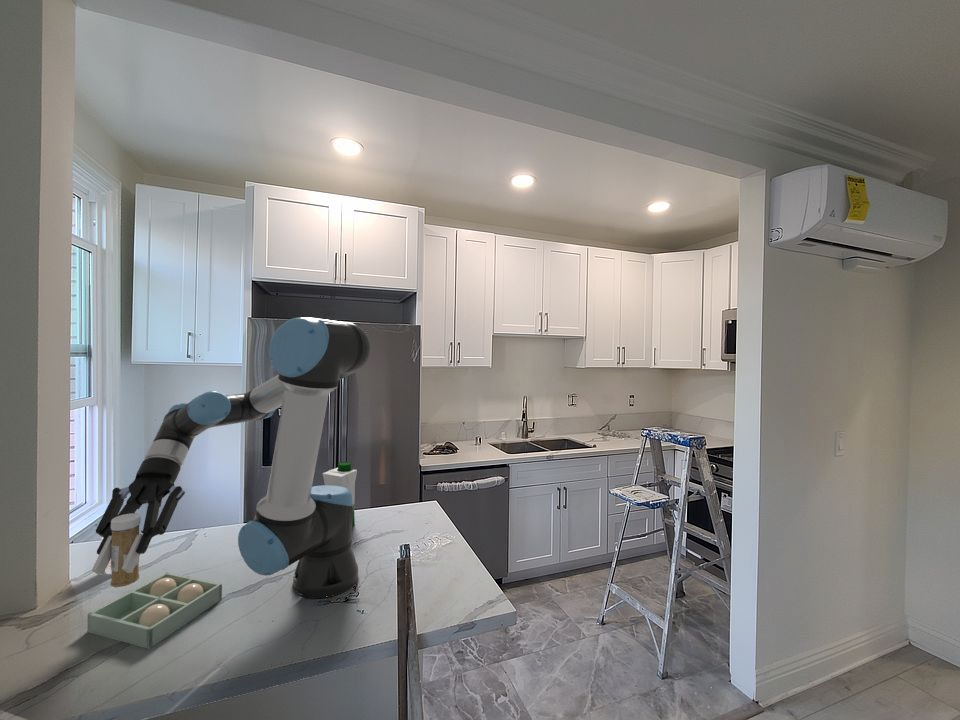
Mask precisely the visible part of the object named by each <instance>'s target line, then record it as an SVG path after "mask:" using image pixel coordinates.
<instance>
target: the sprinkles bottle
mask: <svg viewBox="0 0 960 720" xmlns="http://www.w3.org/2000/svg"><path fill="white" fill-rule="evenodd" d="M141 518H142V517H141V514H140V513H136V512H135V513H130V514H124V515H120V516H117V517H115V518H113V519H112V520H111V530H112V544H111V570H112V574H110V575H111V581H110V586H111V587H113V588H123V587H127V586H129V585H132V584H133V583H135V582H136V581H138V580H139V579H140V573H139V568H140V567H139V566H140V557H139V558H138V561H137V563H136V565H135V567H134V570H133V572H132V573H127V572H125V571H124V570H123V569H122V566H123V564H124V562H125V560H126V558H127V555H128V553H129V551H130V549H131V547H132V544H133V542H134V540H135V538H136V536H137V535H139V534H140V525H141V520H142V519H141Z"/></svg>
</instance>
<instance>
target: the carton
mask: <svg viewBox="0 0 960 720" xmlns="http://www.w3.org/2000/svg"><path fill="white" fill-rule="evenodd" d="M162 578H172V579H173V580H175V582H176V585H177V587H176V588H174V589H173V590H171V591H169V592H167V593H166V594H164V595H162V596H160V597H158V596H153V595H149V592H150V589H151V587H152V585H153V584H154V583H155V582H156V581H158V580H160V579H162ZM192 583H196V584H199V585H201V586H202V588H203V591H204V594H202V595H200V596H199V597H197V598H196V599H194V600H193V601H191V602H189V603H184V602H180V601H177V595H178V593H179V592H180V590H181V589H182V588H183V587H185V586H186V585H188V584H192ZM222 594H223V585H222V583H220V582H215V581H210V580H205V579H201V578H197V577H191V576H188V575H187V576H185V575H181V574H178V573H177V574H176V573H172V572H165V573H163V574H162V575H159V576H157V577H156V578H154V579H152V580H150V581H148V582H147V583H145V584H143V585H141V586H139V587H136V588H135V589H133V590H131V591H129V592H127V593H125V594H123V595H121V596H120V597H117V598H116V599H114V600H112V601H110V602H109V603H107V604H105V605H103V606H101V607H98V608H97V609H95V610H93V611H91V612H89V613H87V631H86V632H87V633H90V634H94V635H98V636H101V637H105V638H108V639H113V640H117V641H120V642H124V643H127V644H131V645H135V646H139V647H142V648H145V649H151V648H152V647H154V646H155V645H156V644H158V643H160V642H161V641H162V640H163V639H165V638H167V637H168V636H170V635H171V634H173V633H174V632H175V631H177V630H178V629H180V628H182V627H183V626H185V625H186V624H187V623H189V622H190V621H192V620H193V619H195V618H196V617H198V616H199V615H201V614H202V613H204V612H205V611H207V610H208V609H210V608H211V607H212V606H214V605H215V604H217V603H218V602H219V603H220V601H221V600H222V599H223V598H222V596H223V595H222ZM155 604H164V605H166V606H167V607H168V608H169V611H170V615H169V616H167V617H166V618H164V619H162V620H161V621H159V622H158V623H156V624H154V625H153V626H151V627H147V626H143V625H139V619H140V617H141V615H142V613H143V612H144V611H145V610H146V609H147V608H149V607H150V606H152V605H155Z"/></svg>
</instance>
